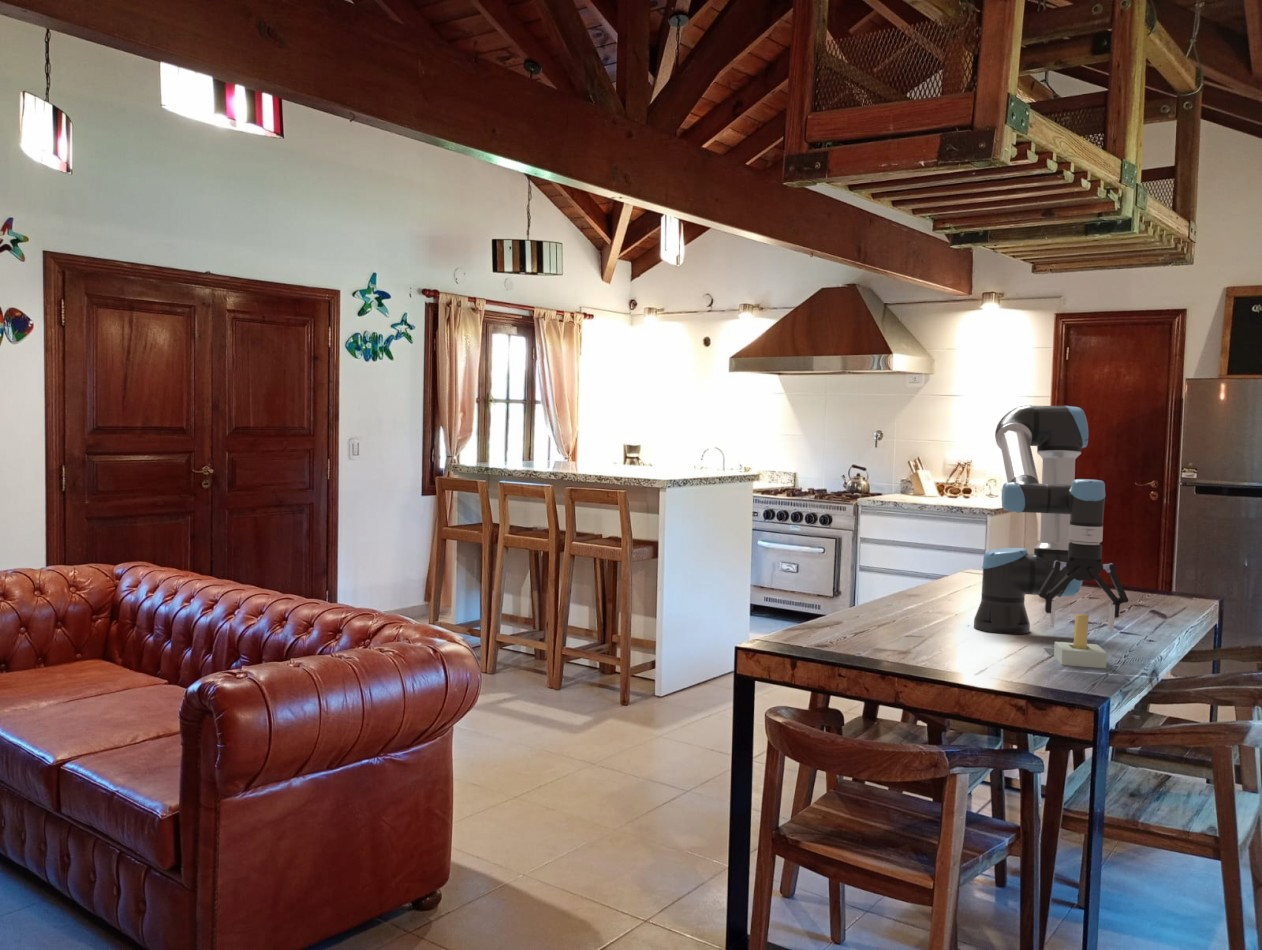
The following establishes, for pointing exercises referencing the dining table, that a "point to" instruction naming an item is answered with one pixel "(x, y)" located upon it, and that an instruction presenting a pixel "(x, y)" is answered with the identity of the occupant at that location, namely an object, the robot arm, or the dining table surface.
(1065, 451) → the robot arm
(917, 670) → the dining table surface
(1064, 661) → the hole block
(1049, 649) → the mat
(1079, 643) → the peg
